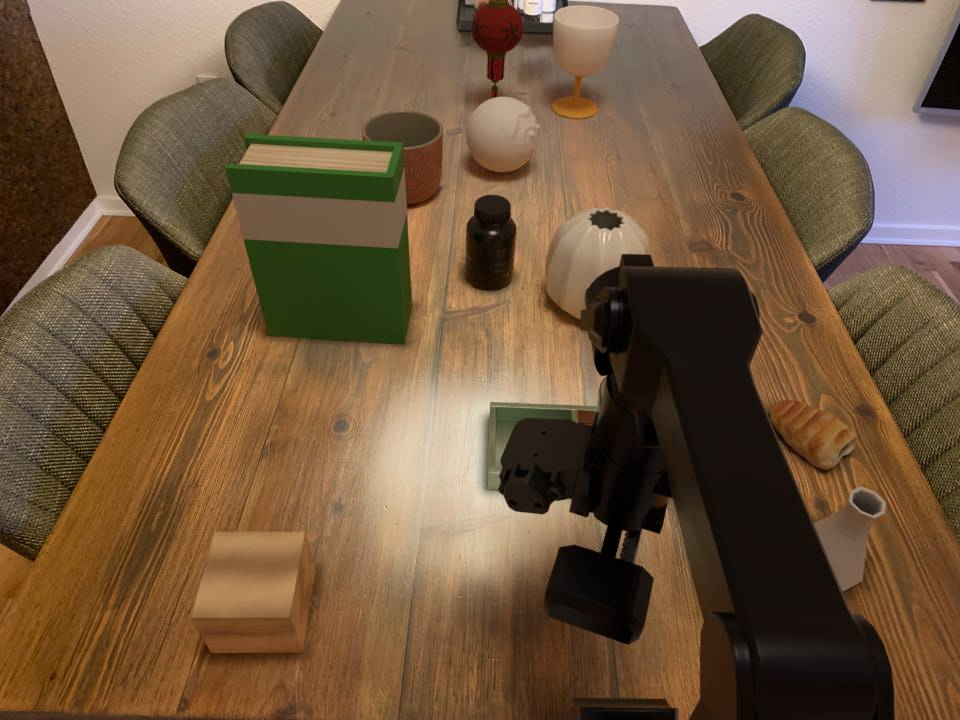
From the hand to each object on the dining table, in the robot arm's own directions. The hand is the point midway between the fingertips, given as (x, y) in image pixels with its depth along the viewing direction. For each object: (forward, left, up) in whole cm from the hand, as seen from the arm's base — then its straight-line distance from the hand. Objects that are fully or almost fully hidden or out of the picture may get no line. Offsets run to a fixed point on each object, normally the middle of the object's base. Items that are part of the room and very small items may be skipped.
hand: (603, 561), depth 55 cm
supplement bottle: (+46, +25, -13) cm, 54 cm away
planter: (+62, +45, -13) cm, 78 cm away
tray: (+19, +6, -13) cm, 24 cm away
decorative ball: (+75, +33, -13) cm, 83 cm away
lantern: (+95, +41, -13) cm, 105 cm away
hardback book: (+30, +40, -13) cm, 52 cm away
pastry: (+31, -19, -13) cm, 39 cm away
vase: (+46, +10, -13) cm, 49 cm away
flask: (+16, -21, -13) cm, 30 cm away
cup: (+102, +27, -13) cm, 106 cm away
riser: (-8, +28, -13) cm, 32 cm away
